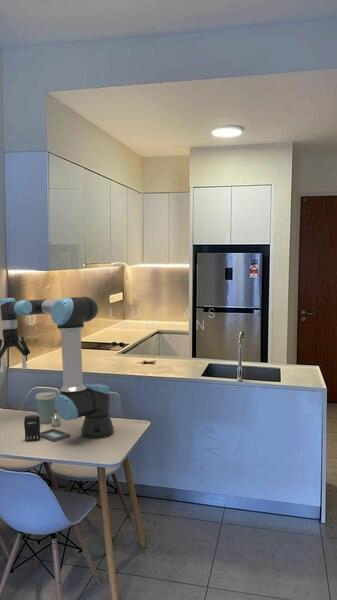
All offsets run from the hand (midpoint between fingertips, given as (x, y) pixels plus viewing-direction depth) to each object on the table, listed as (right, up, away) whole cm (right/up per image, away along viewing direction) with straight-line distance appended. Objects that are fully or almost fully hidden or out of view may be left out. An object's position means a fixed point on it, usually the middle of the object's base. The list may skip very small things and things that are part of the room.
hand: (13, 370), depth 245 cm
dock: (+26, -27, -22) cm, 44 cm away
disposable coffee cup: (+17, -26, 0) cm, 31 cm away
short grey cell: (+23, -27, -7) cm, 36 cm away
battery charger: (+17, -28, -27) cm, 43 cm away
